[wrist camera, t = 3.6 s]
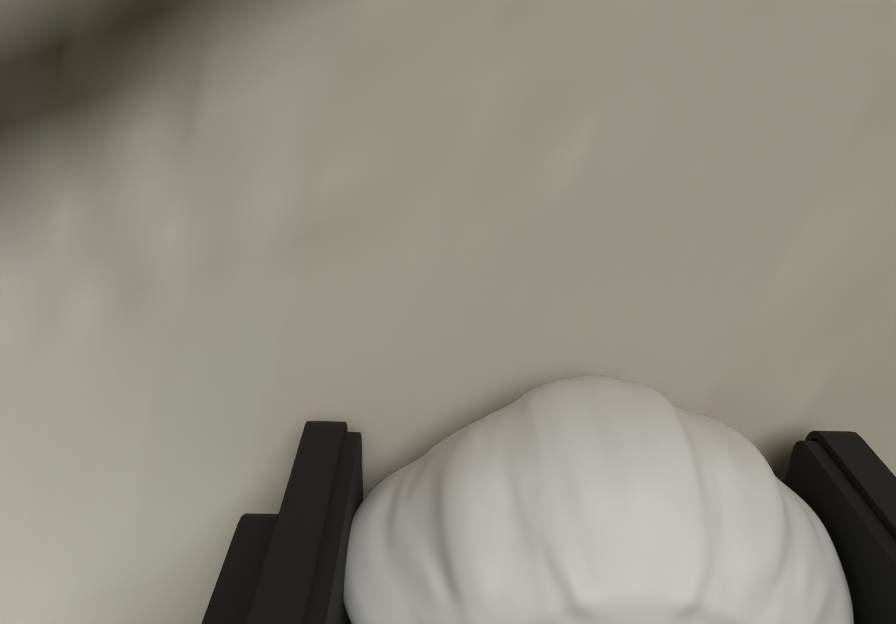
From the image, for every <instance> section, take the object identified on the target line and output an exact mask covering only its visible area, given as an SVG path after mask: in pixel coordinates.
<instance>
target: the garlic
mask: <svg viewBox="0 0 896 624" xmlns="http://www.w3.org/2000/svg"><path fill="white" fill-rule="evenodd" d="M343 600H344V605H345V608H346V611H347V614H348V616H349V619H350V621H351V624H854V617H853V607H852V601H851V596H850V592H849V588H848V584H847V580H846V577H845V574H844V571H843V568H842V565H841V562H840V560H839V557H838V555H837V552H836V550H835V547H834V545H833V542H832V540H831V538H830V536H829V534H828V532H827V530H826V528H825V527H824V525H823V523H822V522H821V520H820V519H819V517H818V516H817V515H816V514H815V512H814V511H813V510H812V509H811V508H810V507H809V506H808V504H807V503H806V502H805V501H804V500H802V499H801V498H800V497H799V496H798V495H797V494H796V493H795V492H794V491H792V490H791V489H790V488H789V487H788V486H786V485H785V484H784V483H782V482H781V481H780V480H779V479H778V478H777V477H776V476H775V475H774V473H773V471H772V469H771V468H770V466H769V464H768V462H767V461H766V459H765V458H764V457H763V455H762V454H761V453H760V451H759V450H758V449H757V448H756V447H755V446H754V445H753V444H752V443H751V442H750V441H749V440H748V439H747V438H746V437H745V436H743V435H742V434H741V433H739V432H738V431H736V430H735V429H733V428H732V427H730V426H728V425H726V424H724V423H722V422H720V421H717V420H715V419H713V418H710V417H707V416H704V415H700V414H697V413H694V412H691V411H688V410H685V409H681V408H678V407H675V406H673V405H672V404H671V402H670V401H669V400H668V399H667V398H666V397H665V396H664V395H662V394H661V393H660V392H658V391H657V390H655V389H653V388H651V387H649V386H647V385H644V384H641V383H638V382H634V381H629V380H623V379H617V378H612V377H607V376H602V375H585V376H577V377H572V378H566V379H561V380H557V381H553V382H550V383H547V384H544V385H541V386H539V387H536V388H534V389H532V390H530V391H528V392H526V393H525V394H523V395H522V396H521V397H520V398H518V399H517V400H516V401H514V402H513V403H511V404H509V405H508V406H506V407H504V408H502V409H499V410H497V411H495V412H493V413H491V414H489V415H487V416H485V417H483V418H482V419H480V420H478V421H475V422H473V423H471V424H469V425H468V426H466V427H464V428H462V429H460V430H458V431H456V432H455V433H453V434H452V435H450V436H448V437H447V438H445V439H443V440H442V441H440V442H439V443H437V444H436V445H435V446H433V447H432V448H431V449H430V450H429V451H428V452H427V453H426V454H425V455H423V456H422V457H420V458H419V459H417V460H415V461H414V462H412V463H410V464H408V465H406V466H404V467H402V468H400V469H399V470H397V471H395V472H394V473H392V474H390V475H389V476H387V477H386V478H385V479H383V480H382V481H381V482H380V483H378V484H377V485H376V486H375V487H374V488H373V489H372V490H371V491H370V493H369V494H368V495H367V496H366V497H365V499H364V500H363V502H362V503H361V504H360V506H359V508H358V509H357V511H356V513H355V514H354V517H353V520H352V524H351V530H350V536H349V543H348V550H347V559H346V568H345V580H344V597H343Z"/></svg>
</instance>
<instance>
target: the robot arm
mask: <svg viewBox="0 0 896 624" xmlns="http://www.w3.org/2000/svg"><path fill="white" fill-rule="evenodd" d="M785 485H786V486H788V487H789V488H790V489H791V490H792V491H794V492H795V493H796V494H797V495H798V496H799V497H800V498H801V499H802V500H804V501H805V502H806V503H807V504H808V506H809V507H810V508H811V509H812V510H813V511H814V512H815V514H816V515H817V516H818V517H819V519H820V520H821V522H822V523H823V525H824V527H825V528H826V530H827V532H828V534H829V536H830V538H831V540H832V542H833V545H834V547H835V550H836V552H837V555H838V557H839V560H840V562H841V565H842V568H843V571H844V574H845V577H846V580H847V584H848V588H849V592H850V596H851V601H852V607H853V617H854V624H896V477H895V476H894V474H893V473H892V472H891V471H890V470H889V469H888V468H887V466H886V465H885V464H884V463H883V462H882V461H881V460H880V458H879V457H878V456H877V455H876V454H875V453H874V451H873V450H872V449H871V448H870V447H869V446H868V445H867V443H866V442H865V441H864V440H863V439H862V438H861V436H859V435H858V434H857V433H856V432H847V431H812V432H810V433H809V434H808V436H807V437H806V439H805V441H798V442H797V443H796V444H795V445H794V448H793V451H792V455H791V459H790V463H789V468H788V472H787V476H786V480H785ZM362 502H363V485H362V441H361V433H360V432H348V431H347V424H346V422H329V421H307V422H306V424H305V427H304V431H303V434H302V437H301V441H300V444H299V448H298V451H297V454H296V458H295V461H294V464H293V468H292V471H291V474H290V478H289V481H288V485H287V488H286V491H285V495H284V498H283V501H282V505H281V508H280V512H279V514H244V515H243V516H242V517H241V519H240V521H239V523H238V525H237V528H236V530H235V533H234V536H233V539H232V541H231V544H230V547H229V550H228V552H227V555H226V558H225V561H224V563H223V566H222V569H221V572H220V574H219V577H218V580H217V583H216V585H215V588H214V591H213V594H212V596H211V599H210V602H209V605H208V607H207V610H206V613H205V616H204V618H203V621H202V624H351V621H350V619H349V616H348V614H347V611H346V608H345V605H344V600H343V597H344V580H345V568H346V559H347V550H348V543H349V536H350V530H351V524H352V520H353V517H354V514H355V513H356V511H357V509H358V508H359V506H360V504H361V503H362Z"/></svg>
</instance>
